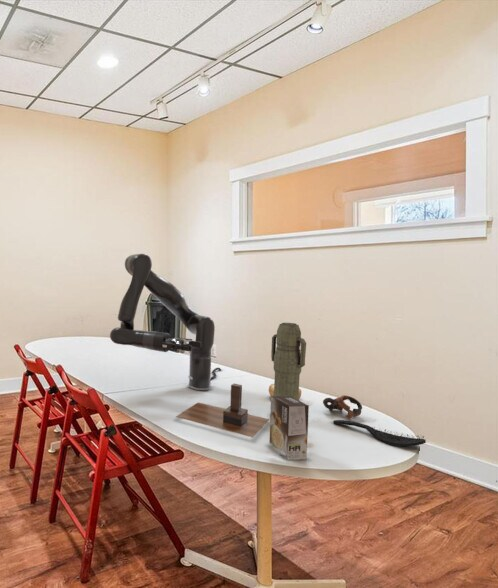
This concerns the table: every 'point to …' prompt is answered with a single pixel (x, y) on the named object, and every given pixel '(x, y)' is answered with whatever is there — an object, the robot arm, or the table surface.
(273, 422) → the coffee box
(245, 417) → the wooden post on base
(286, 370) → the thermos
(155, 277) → the robot arm
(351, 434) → the table surface
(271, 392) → the pastry
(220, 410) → the cutting board
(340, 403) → the brown looped piece
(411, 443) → the hairbrush
